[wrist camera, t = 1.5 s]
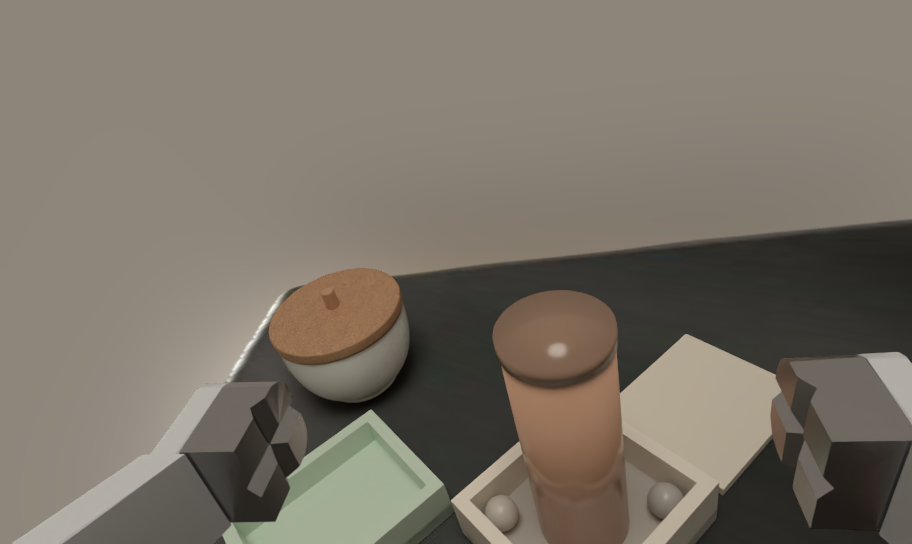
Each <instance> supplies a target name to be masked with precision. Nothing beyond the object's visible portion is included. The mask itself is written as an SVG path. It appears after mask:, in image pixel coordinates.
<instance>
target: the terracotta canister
mask: <svg viewBox="0 0 912 544" xmlns="http://www.w3.org/2000/svg"><path fill="white" fill-rule="evenodd" d="M493 342H494V347H495V351H496V355H497V358H498V361H499V363H500V365H501V366H502V370H503V375H504V379H505V383H506V387H507V391H508V395H509V399H510V404H511V408H512V412H513V416H514V420H515V424H516V429H517V433H518V437H519V441H520V445H521V449H522V453H523V458H524V462H525V466H526V470H527V474H528V478H529V483H530V487H531V491H532V495H533V499H534V503H535V507H536V512H537V516H538V520H539V524H540V528H541V531H542V534H543V535H544V537H545V539H546V540H547V542H548V543H549V544H623V542H624V540H625V539H626V537H627V534H628V531H629V524H630V519H629V506H628V493H627V480H626V468H625V455H624V442H623V429H622V416H621V403H620V390H619V378H618V365H617V352H616V351H617V347H618V334H617V322H616V319H615V316H614V314H613V312H612V311H611V310H610V308H609V307H608V306H607V305H606V304H605V303H603V302H602V301H600V300H599V299H597V298H595V297H593V296H590V295H588V294H585V293H581V292H576V291H568V290H555V291H546V292H541V293H537V294H533V295H530V296H528V297H525V298H523V299H521V300H519V301H517V302H516V303H514V304H512V305H511V306H510V307H509V308H507V309H506V310H505V311H504V312H503V313H502V314H501V316H500V317H499V318H498V320H497V322H496V324H495V326H494V330H493Z"/></svg>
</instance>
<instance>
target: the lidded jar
mask: <svg viewBox="0 0 912 544" xmlns="http://www.w3.org/2000/svg"><path fill="white" fill-rule="evenodd" d="M269 338H270V340H271V343H272V345H273V347H274V348H275V350H276V351H277V353H278V354H279V355H280V356H281V358H282V360H283V361H284V363H285V365H286V366H287V368H288V369H289V371H290V372H291V373H292V374H293V376H294V377H295V378H296V379H297V380H298V381H299V382H300V383H301V384H302V385H303V386H304V387H305V388H306V389H308V390H309V391H311V392H312V393H314V394H315V395H317V396H320V397H322V398H325V399H328V400H333V401H342V402H346V403H359V402H364V401H367V400H370V399H372V398H375V397H377V396H378V395H380V394H381V393H383V392H384V391H385V390H387V389H388V388H389V387H390V385H391V384H392V383H393V382H394V380H395V378H396V376H397V374H398V373H399V371H400V370H401V368H402V367H403V365H404V362H405V360H406V357H407V354H408V350H409V343H410V333H409V324H408V318H407V314H406V310H405V307H404V304H403V299H402V294H401V290H400V288H399V285H398V284H397V282H396V281H395V279H394V278H393V277H391V276H390V275H388V274H386V273H384V272H382V271H379V270H374V269H367V268H357V269H347V270H343V271H338V272H335V273H331V274H328V275H325V276H323V277H321V278H318V279H316V280H314V281H312V282H310V283H308V284H307V285H305V286H303V287H301V288H300V289H298V290H297V291H296V292H294V293H293V294H292V295H291V296H289V297H288V298H287V299H286V300H285V301H284V302H283V303H282V304H281V305H280V307H279V308H278V309H277V311H276V312H275V314H274V316H273V317H272V320H271V323H270V327H269Z"/></svg>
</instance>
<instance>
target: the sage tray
mask: <svg viewBox="0 0 912 544" xmlns="http://www.w3.org/2000/svg"><path fill="white" fill-rule="evenodd" d="M287 478H288V482H289V485H290V490H289V492H288V495H287V497H286V499H285V501H284V504H283V506H282V508H281V510H280V513H279V515H278V517H277V520H276V522H235V523H231V526H230V527H229V528H228V529H227V530H226V531H225V532H224V533H223V534H222V535H223V538H224V540H225V542H226V544H419V543H420V542H421V541H422V540H423V539H424V538H426V537H427V536H428V535H429V534H430V533H431V532H432V531H434V530H435V529H436V528H437V527H438V526H439V525H440V524H442V523H443V522H444V521H445V520H446V519H447V518H448V517H450V516H451V515H452V514H453V513H454V509H453V507H452V504H451V501H450V499H449V496H448V494H447V491H446V488H445V486H444V484H443V483H442V482H441V481H440V480H439V479H438V478H437V477H436V476H435V475H434V474H433V473H432V472H431V471H430V470H429V468H428V467H427V466H426V465H425V464H424V463H423V462H422V461H421V460H420V459H419V458H418V457H417V456H416V455H415V454H414V453H413V452H412V451H411V450H410V449H409V448H408V447H407V446H406V445H405V444H404V443H403V442H402V441H401V440H400V439H399V438H398V437H397V436H396V435H395V433H394V432H393V431H392V430H391V429H390V428H389V427H388V426H387V425H386V424H385V423H384V422H383V421H382V420H381V419H380V418H379V417H378V416H377V415H376V414H375V413H374V412H373V411H372V410H369V411H368V412H367V413H365V414H364V415H362V416H361V417H360V418H358V419H357V420H355V421H354V422H353V423H351V424H350V425H348V426H347V427H346V428H344V429H343V430H341V431H340V432H339V433H337V434H336V435H335V436H333V437H332V438H330V439H329V440H328V441H326V442H325V443H323V444H322V445H321V446H319V447H318V448H316V449H315V450H314V451H312V452H311V453H309V454H308V455H307V456H305V457H304V458H303V460H302V462H301V465H300V467H298V468H297V469H296V470H295V471H294V472H293V473H291V474H290V475H289V476H288V477H287Z"/></svg>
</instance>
